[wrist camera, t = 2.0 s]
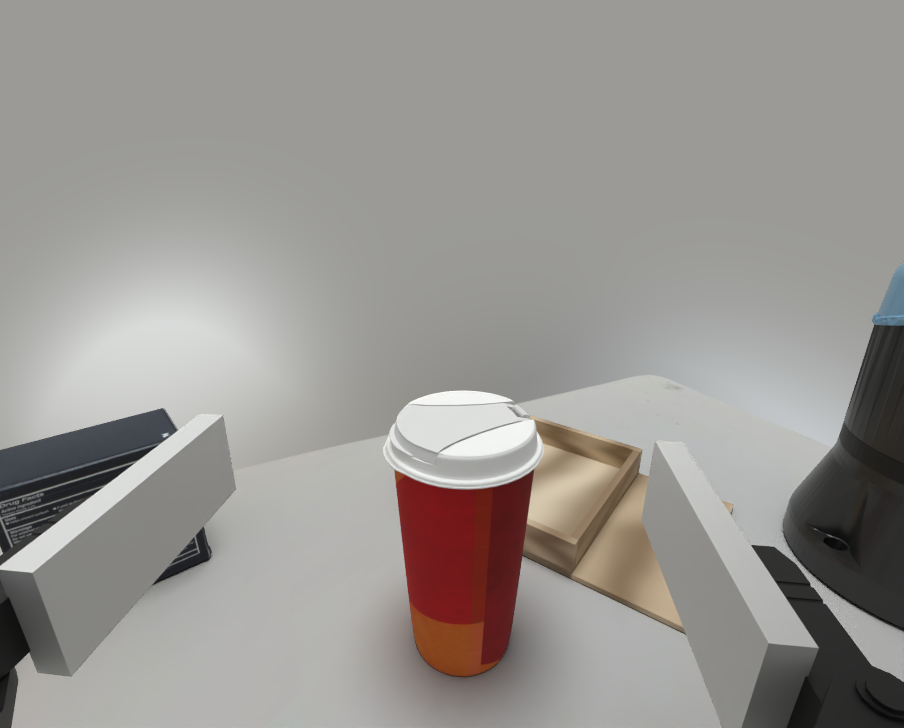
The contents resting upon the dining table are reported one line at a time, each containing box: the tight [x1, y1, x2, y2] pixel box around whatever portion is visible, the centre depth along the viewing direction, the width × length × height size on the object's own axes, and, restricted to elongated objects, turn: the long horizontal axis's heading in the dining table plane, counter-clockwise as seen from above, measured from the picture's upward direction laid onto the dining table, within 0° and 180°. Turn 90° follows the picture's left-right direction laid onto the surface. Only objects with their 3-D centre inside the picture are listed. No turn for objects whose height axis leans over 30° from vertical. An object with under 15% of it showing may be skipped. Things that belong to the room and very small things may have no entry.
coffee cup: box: [383, 391, 544, 677], centre depth 28 cm, size 8×8×15 cm
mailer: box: [522, 416, 733, 634], centre depth 42 cm, size 24×16×3 cm, turn 54°
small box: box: [0, 408, 212, 583], centre depth 34 cm, size 11×6×10 cm, turn 129°
